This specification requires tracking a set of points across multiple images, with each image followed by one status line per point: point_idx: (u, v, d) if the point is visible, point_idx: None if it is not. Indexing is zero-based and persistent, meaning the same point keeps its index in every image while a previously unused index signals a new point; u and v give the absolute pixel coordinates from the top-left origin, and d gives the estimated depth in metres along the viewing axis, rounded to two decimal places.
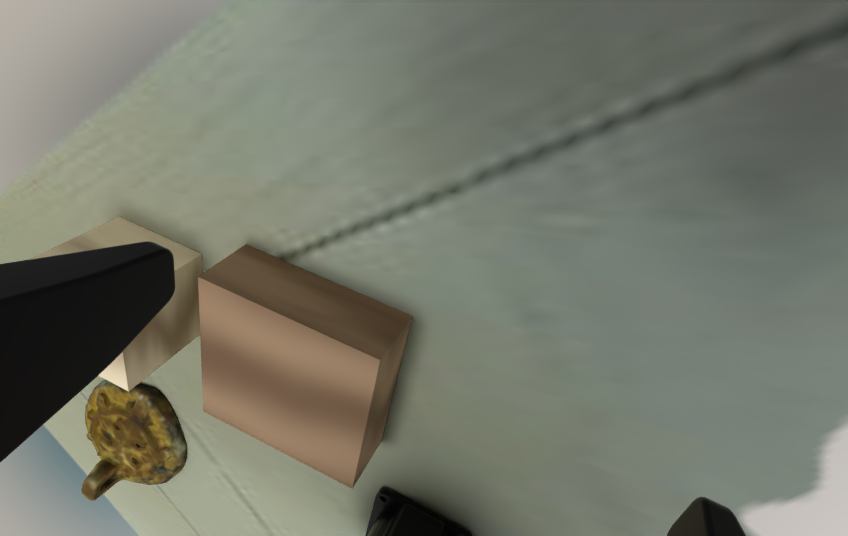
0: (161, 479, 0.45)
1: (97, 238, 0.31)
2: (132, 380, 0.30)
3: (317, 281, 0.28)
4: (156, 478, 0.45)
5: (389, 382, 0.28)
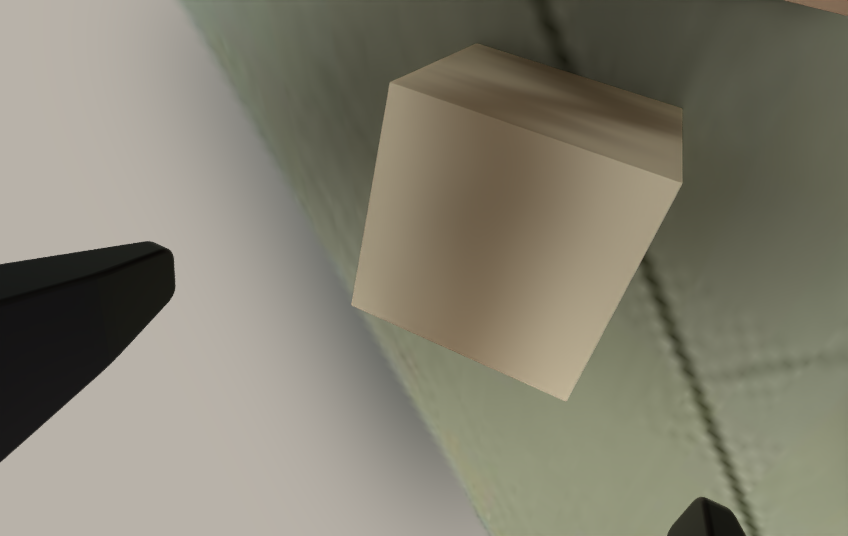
0: None
1: None
2: (651, 166, 0.10)
3: None
4: None
5: None
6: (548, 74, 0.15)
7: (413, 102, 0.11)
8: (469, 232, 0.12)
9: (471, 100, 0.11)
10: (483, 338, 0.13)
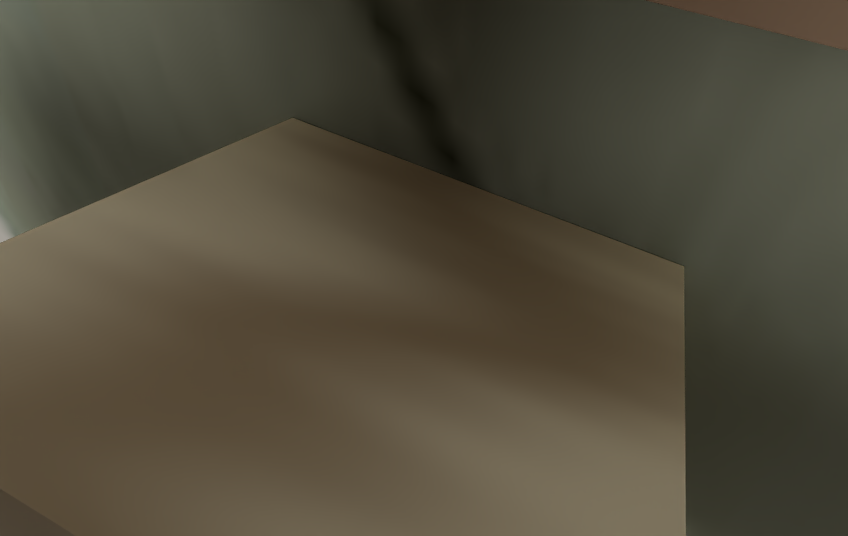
0: None
1: None
2: None
3: None
4: None
5: None
6: (405, 198, 0.07)
7: None
8: None
9: (39, 390, 0.04)
10: None
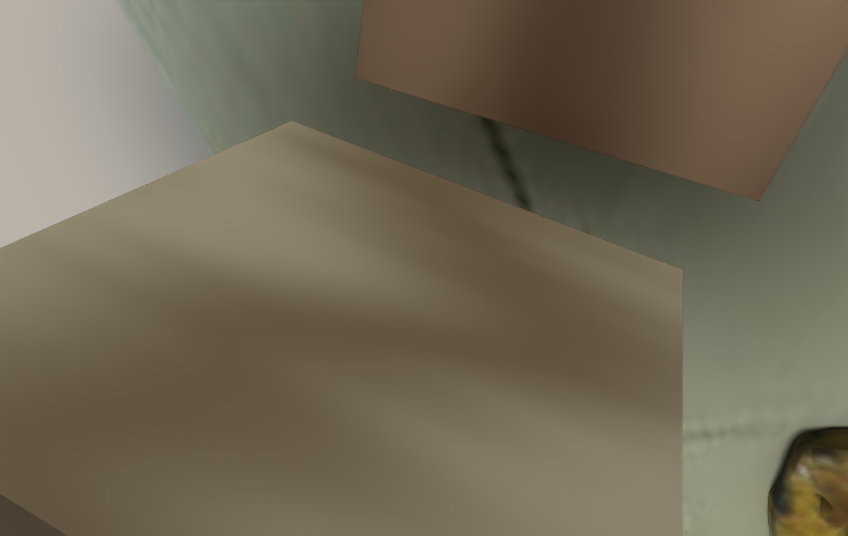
0: None
1: None
2: None
3: None
4: None
5: None
6: (404, 201, 0.07)
7: None
8: None
9: (38, 397, 0.04)
10: None
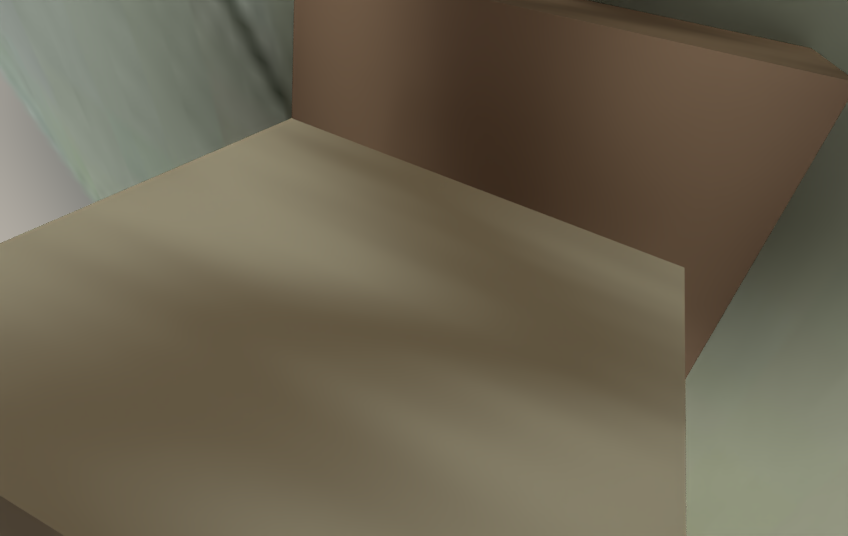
0: None
1: None
2: None
3: None
4: None
5: None
6: (404, 199, 0.07)
7: None
8: None
9: (35, 393, 0.04)
10: None
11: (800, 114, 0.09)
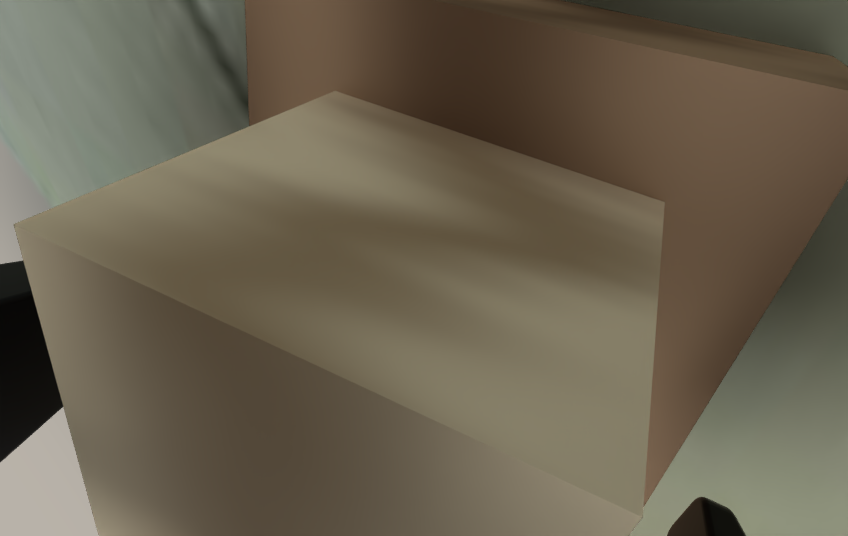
0: None
1: None
2: (570, 447, 0.04)
3: None
4: None
5: None
6: (434, 150, 0.09)
7: (65, 267, 0.05)
8: (233, 498, 0.06)
9: (196, 257, 0.05)
10: None
11: (825, 137, 0.07)
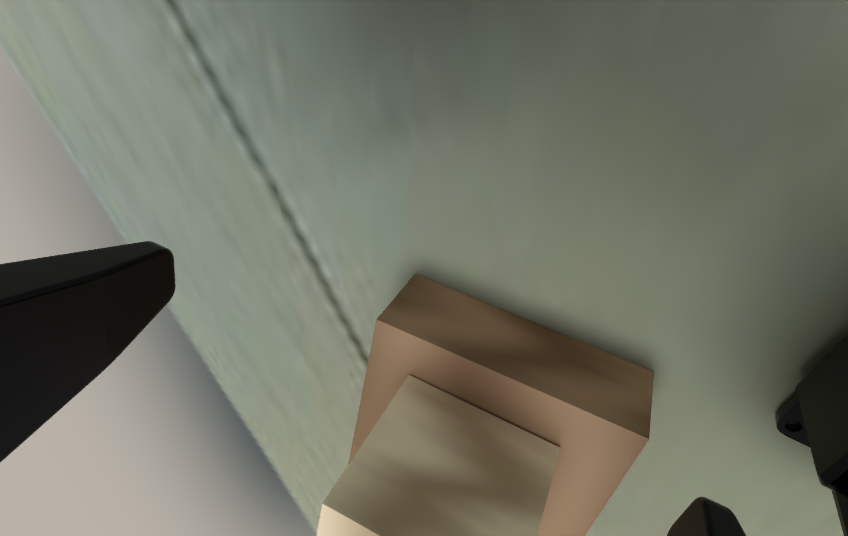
0: None
1: None
2: None
3: None
4: None
5: (488, 323, 0.21)
6: (457, 422, 0.19)
7: (339, 518, 0.16)
8: None
9: (381, 513, 0.16)
10: None
11: (625, 444, 0.18)
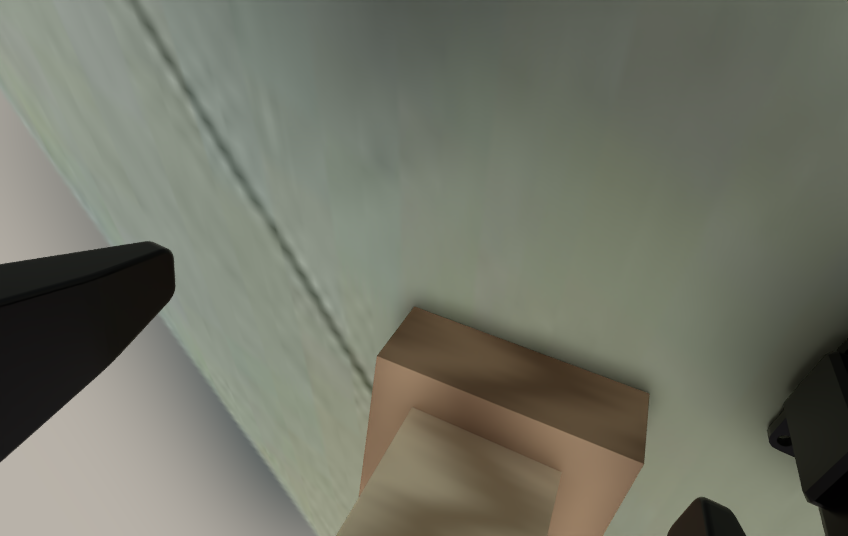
0: None
1: None
2: None
3: None
4: None
5: (486, 353, 0.22)
6: (460, 452, 0.20)
7: None
8: None
9: None
10: None
11: (622, 469, 0.19)
